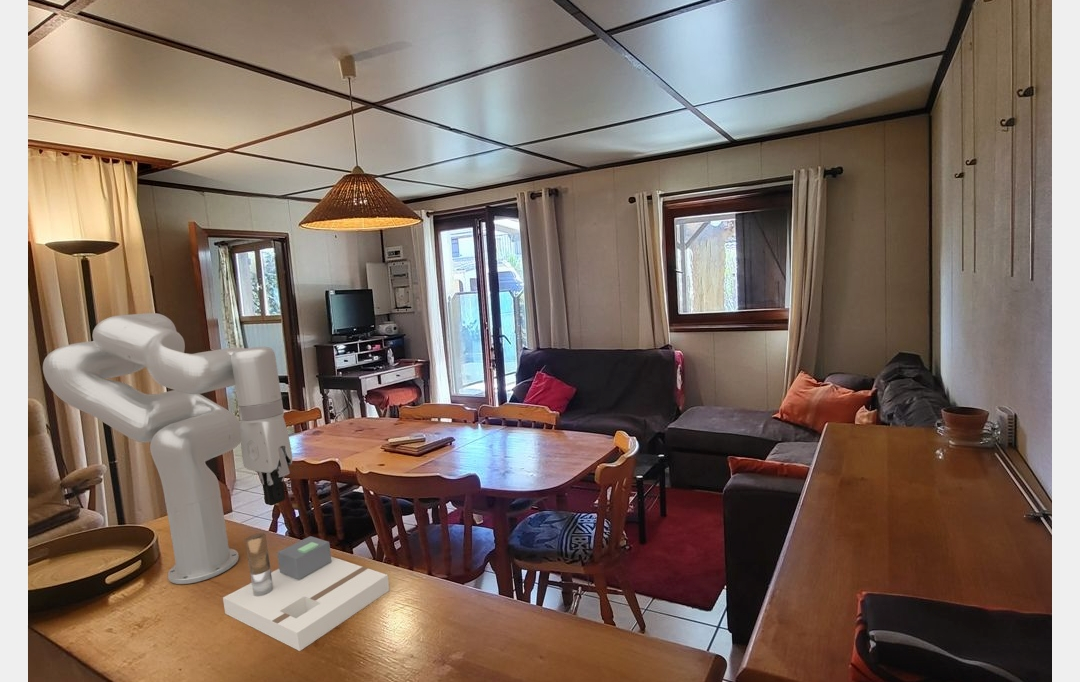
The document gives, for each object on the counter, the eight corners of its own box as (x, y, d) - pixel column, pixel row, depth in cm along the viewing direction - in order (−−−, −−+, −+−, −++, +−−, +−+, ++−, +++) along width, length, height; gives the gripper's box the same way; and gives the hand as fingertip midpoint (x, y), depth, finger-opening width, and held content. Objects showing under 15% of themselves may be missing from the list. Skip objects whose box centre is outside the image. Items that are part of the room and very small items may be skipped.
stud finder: (279, 572, 101) (276, 550, 101) (312, 555, 107) (310, 534, 107) (298, 579, 98) (295, 556, 98) (331, 561, 104) (328, 539, 104)
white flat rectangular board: (225, 613, 95) (222, 597, 95) (315, 564, 110) (313, 550, 110) (299, 651, 83) (297, 632, 83) (389, 590, 98) (387, 574, 98)
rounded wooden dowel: (249, 593, 95) (241, 540, 94) (266, 584, 98) (259, 532, 97) (259, 598, 93) (251, 543, 92) (277, 588, 96) (269, 535, 95)
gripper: (221, 414, 105) (236, 504, 107) (264, 418, 97) (279, 515, 98) (259, 405, 111) (272, 490, 113) (302, 408, 103) (315, 500, 105)
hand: (275, 502), depth 106 cm, fingers closed
